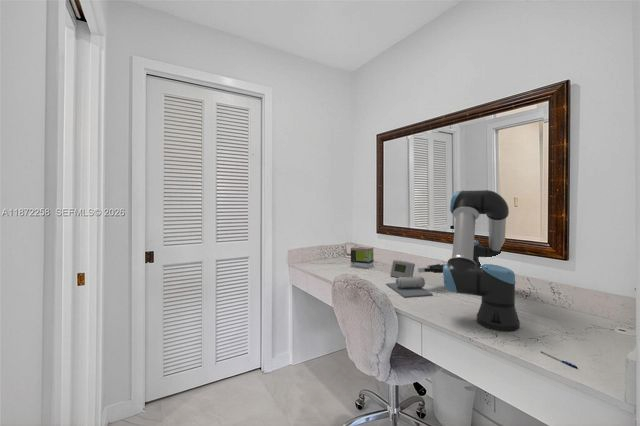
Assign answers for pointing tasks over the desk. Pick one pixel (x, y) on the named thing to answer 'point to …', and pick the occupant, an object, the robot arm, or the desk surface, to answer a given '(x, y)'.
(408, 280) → the energy drink can
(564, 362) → the screwdriver
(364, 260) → the tea box
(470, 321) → the desk surface
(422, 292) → the rubber mat
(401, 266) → the digital clock
